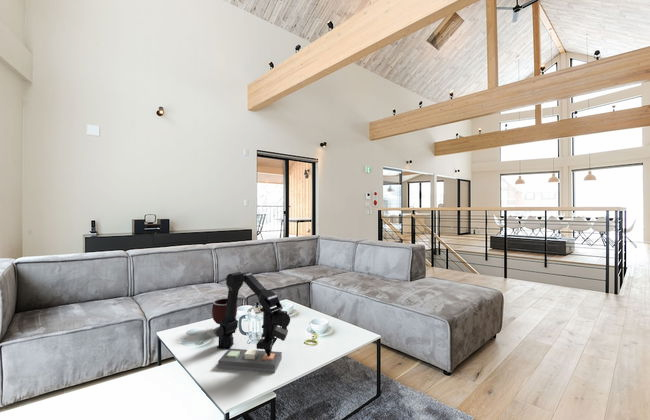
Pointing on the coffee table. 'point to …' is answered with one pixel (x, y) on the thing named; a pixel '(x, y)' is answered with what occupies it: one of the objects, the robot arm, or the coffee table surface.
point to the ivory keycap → (251, 354)
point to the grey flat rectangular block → (250, 362)
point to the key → (312, 340)
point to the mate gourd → (219, 311)
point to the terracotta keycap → (269, 357)
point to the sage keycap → (233, 354)
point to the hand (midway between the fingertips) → (268, 355)
